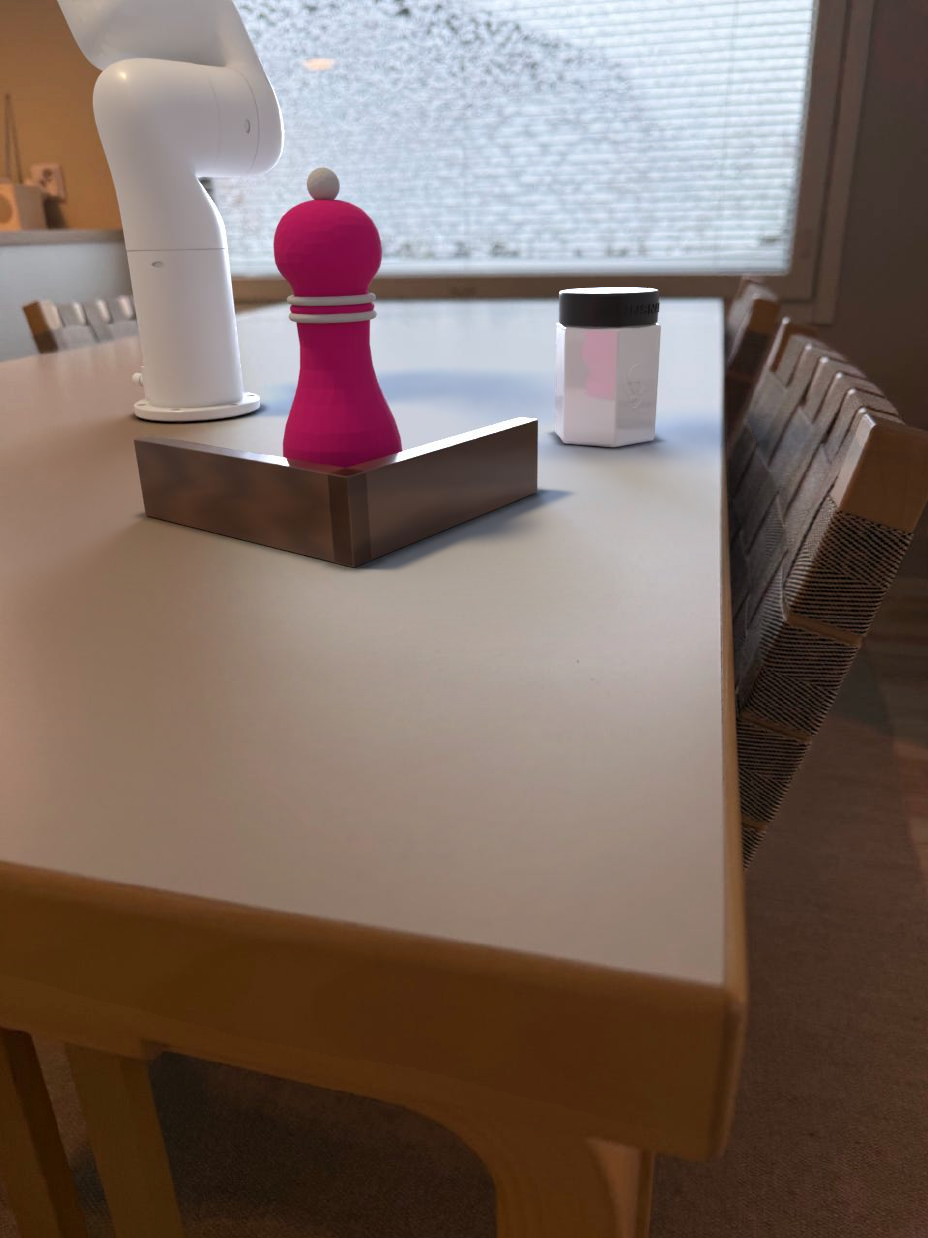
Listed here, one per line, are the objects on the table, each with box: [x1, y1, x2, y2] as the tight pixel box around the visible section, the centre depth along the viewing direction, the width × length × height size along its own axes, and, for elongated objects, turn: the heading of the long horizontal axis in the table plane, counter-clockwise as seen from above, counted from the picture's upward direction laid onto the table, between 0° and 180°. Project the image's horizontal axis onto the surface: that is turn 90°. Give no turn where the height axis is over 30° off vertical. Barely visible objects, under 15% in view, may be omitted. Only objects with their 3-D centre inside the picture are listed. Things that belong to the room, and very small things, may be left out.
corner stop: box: [133, 417, 539, 568], centre depth 61 cm, size 18×18×5 cm
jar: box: [554, 287, 662, 448], centre depth 77 cm, size 9×8×12 cm
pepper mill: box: [272, 166, 404, 468], centre depth 54 cm, size 7×7×20 cm
